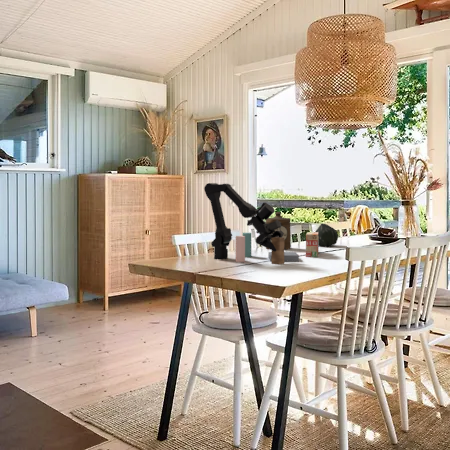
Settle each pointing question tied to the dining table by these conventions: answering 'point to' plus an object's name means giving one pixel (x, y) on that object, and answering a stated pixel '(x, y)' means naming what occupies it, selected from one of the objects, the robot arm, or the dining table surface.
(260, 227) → the robot arm
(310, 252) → the stack of blocks
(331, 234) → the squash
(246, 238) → the muted teal block
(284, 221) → the wooden container
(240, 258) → the dusty pink block
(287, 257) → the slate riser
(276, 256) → the walnut block
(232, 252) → the dining table surface
